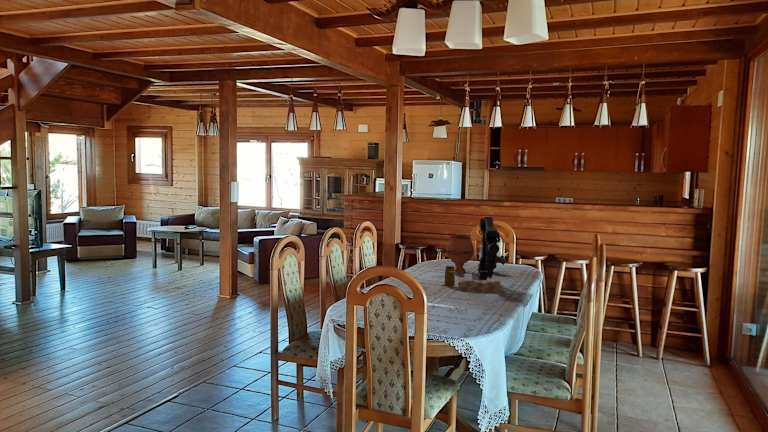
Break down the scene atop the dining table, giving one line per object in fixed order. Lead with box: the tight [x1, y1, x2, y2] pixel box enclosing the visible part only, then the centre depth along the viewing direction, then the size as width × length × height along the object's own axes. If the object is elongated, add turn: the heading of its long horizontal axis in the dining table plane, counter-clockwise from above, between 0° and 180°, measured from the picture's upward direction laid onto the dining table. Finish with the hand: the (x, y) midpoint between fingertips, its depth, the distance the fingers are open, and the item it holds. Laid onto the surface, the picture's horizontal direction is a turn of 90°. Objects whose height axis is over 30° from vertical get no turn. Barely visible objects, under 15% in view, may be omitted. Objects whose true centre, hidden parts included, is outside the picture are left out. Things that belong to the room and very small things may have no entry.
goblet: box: [445, 234, 475, 274], centre depth 395 cm, size 19×19×25 cm
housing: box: [457, 278, 501, 293], centre depth 338 cm, size 24×9×5 cm, turn 79°
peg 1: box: [463, 272, 473, 282], centre depth 339 cm, size 4×4×4 cm
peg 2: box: [487, 276, 496, 283], centre depth 337 cm, size 4×4×4 cm
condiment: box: [439, 265, 456, 288], centre depth 348 cm, size 7×8×12 cm
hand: (490, 277), depth 337 cm, fingers closed, pressing on peg 2
